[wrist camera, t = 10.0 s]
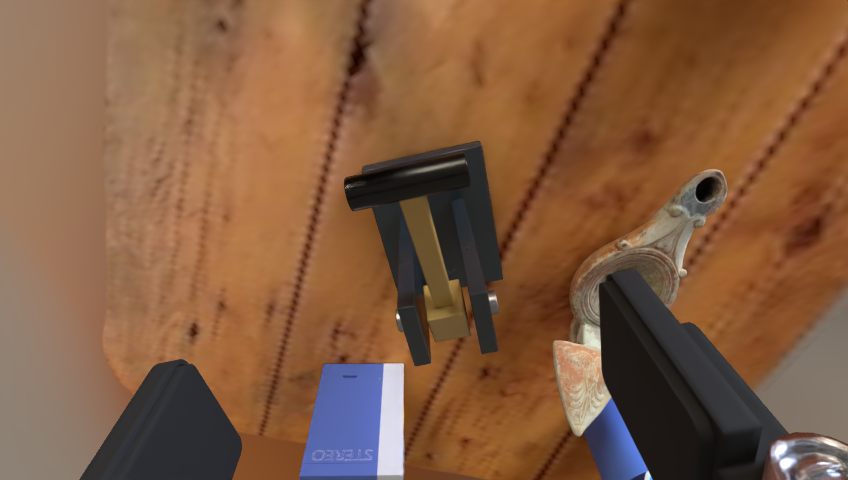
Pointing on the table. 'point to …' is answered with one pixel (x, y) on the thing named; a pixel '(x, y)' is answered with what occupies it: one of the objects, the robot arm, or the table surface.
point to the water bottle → (614, 447)
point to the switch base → (445, 251)
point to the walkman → (357, 424)
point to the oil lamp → (640, 250)
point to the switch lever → (421, 228)
